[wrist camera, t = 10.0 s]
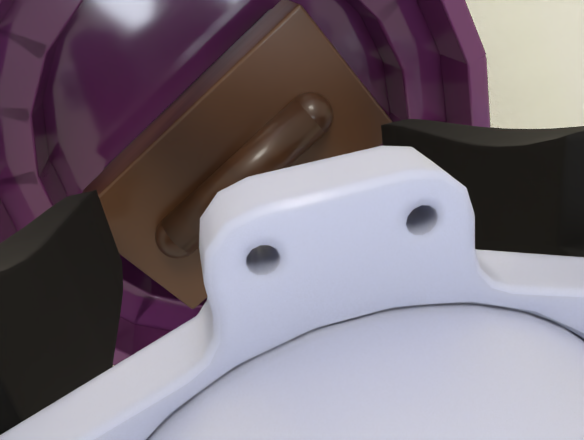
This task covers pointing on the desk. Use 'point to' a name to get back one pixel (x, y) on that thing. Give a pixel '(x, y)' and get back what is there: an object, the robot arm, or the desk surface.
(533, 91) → the desk surface
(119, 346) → the bowl
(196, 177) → the brown block with peg
